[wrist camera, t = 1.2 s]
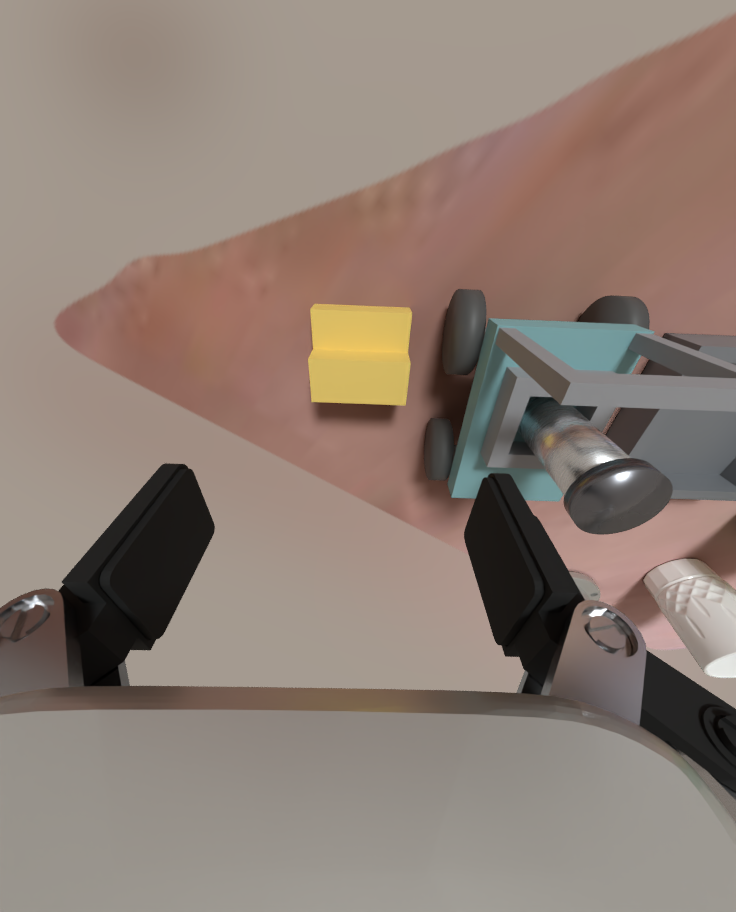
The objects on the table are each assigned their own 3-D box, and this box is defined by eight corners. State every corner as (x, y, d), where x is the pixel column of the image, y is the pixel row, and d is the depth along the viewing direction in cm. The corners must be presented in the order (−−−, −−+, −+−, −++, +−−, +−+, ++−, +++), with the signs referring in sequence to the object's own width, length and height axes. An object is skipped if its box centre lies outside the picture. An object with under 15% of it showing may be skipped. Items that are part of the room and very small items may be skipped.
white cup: (673, 549, 36) (759, 641, 28) (726, 560, 37) (824, 652, 29) (623, 585, 41) (685, 673, 33) (672, 594, 42) (744, 681, 34)
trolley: (533, 459, 29) (632, 601, 18) (421, 455, 28) (452, 595, 18) (608, 290, 20) (881, 360, 9) (451, 283, 20) (543, 346, 9)
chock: (401, 382, 25) (405, 405, 21) (319, 379, 24) (311, 401, 21) (409, 307, 21) (415, 320, 18) (315, 303, 21) (304, 316, 18)
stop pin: (557, 441, 20) (640, 535, 14) (501, 439, 20) (559, 533, 14) (583, 389, 18) (694, 472, 11) (520, 386, 17) (598, 469, 11)
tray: (716, 479, 30) (747, 501, 27) (583, 474, 30) (601, 496, 27) (845, 340, 22) (903, 354, 20) (665, 333, 22) (701, 346, 19)
